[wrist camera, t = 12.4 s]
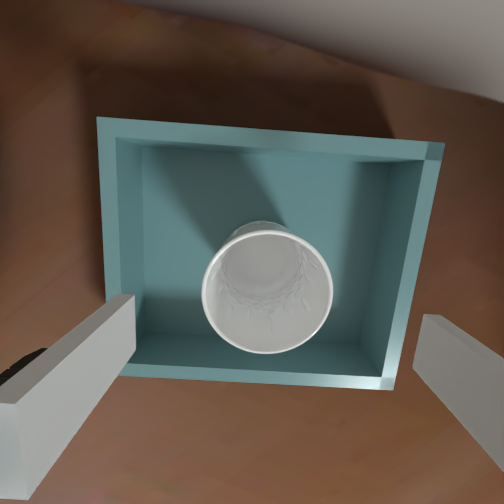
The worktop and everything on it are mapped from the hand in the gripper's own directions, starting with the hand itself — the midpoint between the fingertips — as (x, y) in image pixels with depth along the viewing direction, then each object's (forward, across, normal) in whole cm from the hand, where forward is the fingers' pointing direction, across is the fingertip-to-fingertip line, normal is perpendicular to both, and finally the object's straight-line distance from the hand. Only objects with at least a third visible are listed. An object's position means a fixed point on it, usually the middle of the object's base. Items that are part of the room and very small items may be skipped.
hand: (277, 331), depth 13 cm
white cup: (+14, 0, 0) cm, 14 cm away
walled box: (+15, 0, 0) cm, 15 cm away
